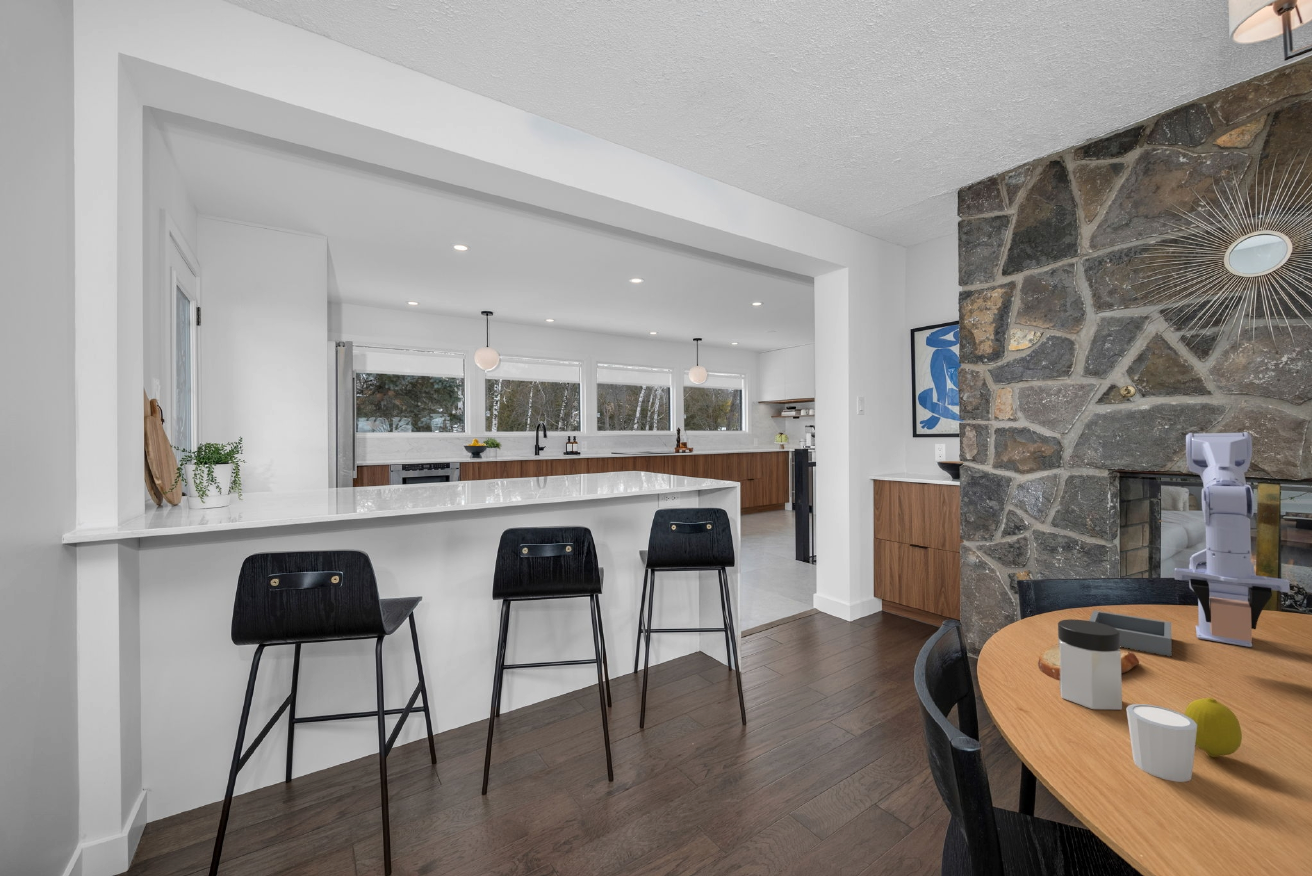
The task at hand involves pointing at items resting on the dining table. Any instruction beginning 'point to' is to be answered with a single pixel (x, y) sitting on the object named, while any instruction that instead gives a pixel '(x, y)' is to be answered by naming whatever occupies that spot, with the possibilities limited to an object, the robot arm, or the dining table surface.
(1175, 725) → the white cup
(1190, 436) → the robot arm
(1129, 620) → the bin
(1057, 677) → the bread slice
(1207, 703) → the lemon
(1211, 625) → the block
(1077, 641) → the jar
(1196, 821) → the dining table surface
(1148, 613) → the dining table surface
